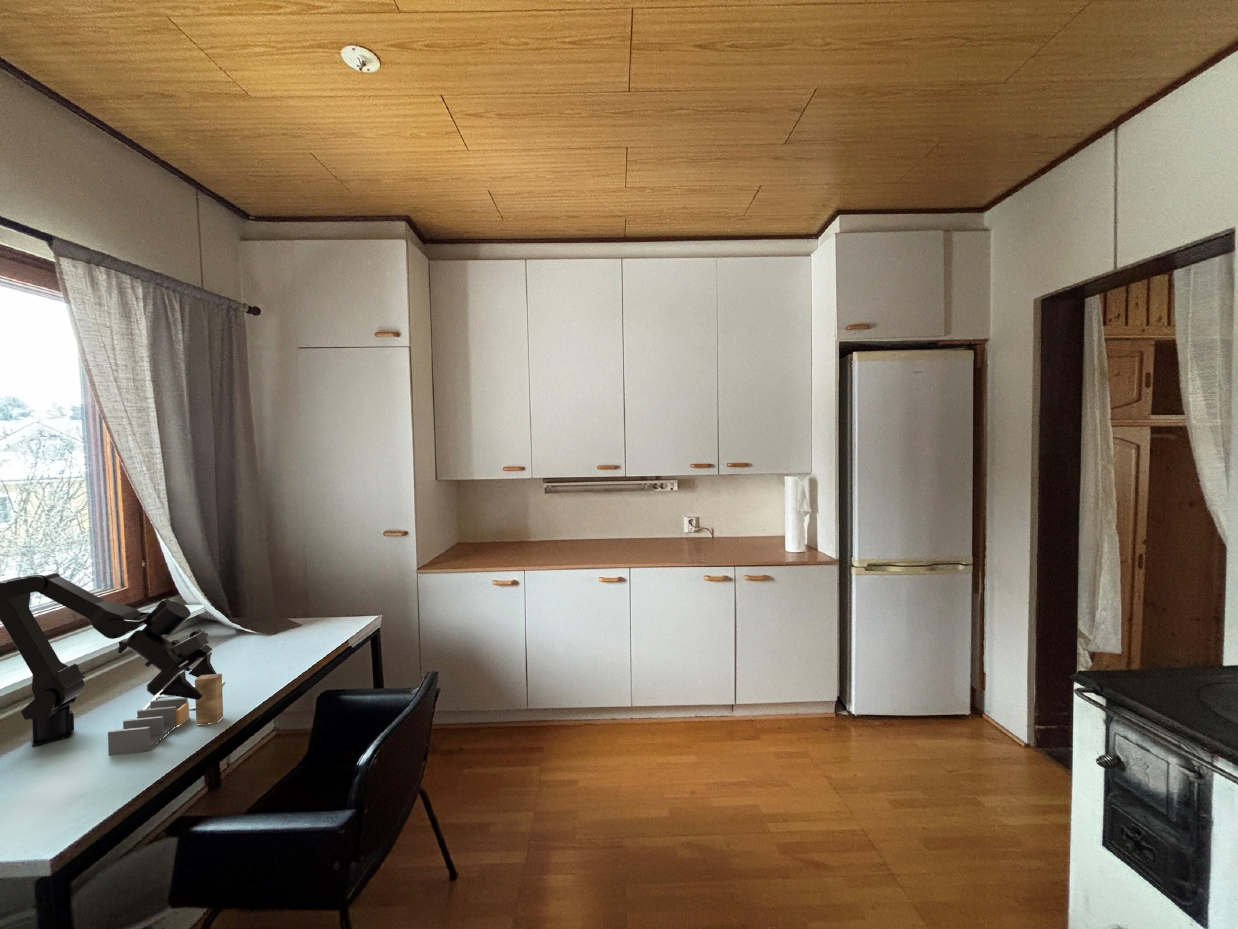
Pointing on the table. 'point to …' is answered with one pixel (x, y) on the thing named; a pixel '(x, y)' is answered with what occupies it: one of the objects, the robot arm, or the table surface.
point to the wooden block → (209, 699)
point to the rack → (148, 726)
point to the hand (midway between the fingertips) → (210, 690)
